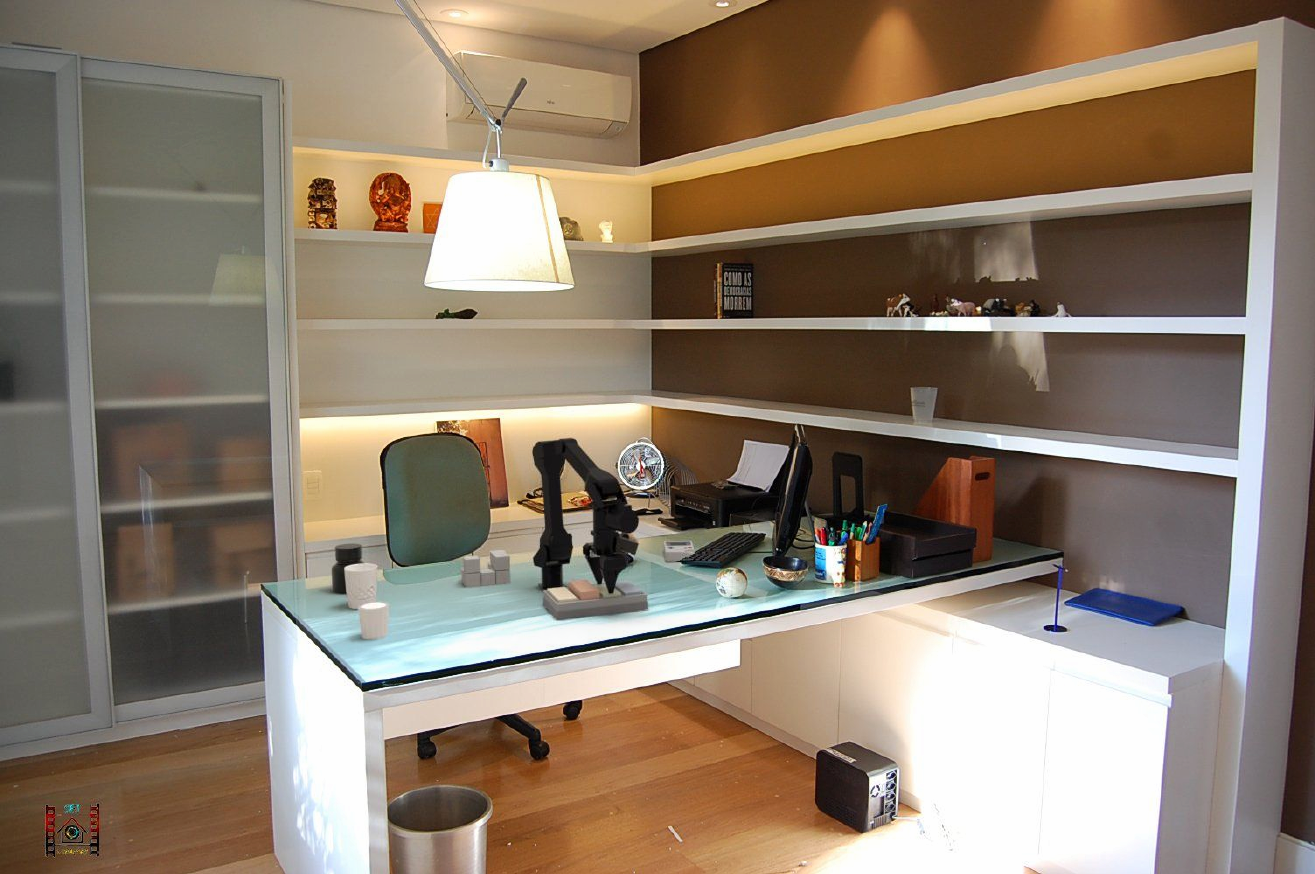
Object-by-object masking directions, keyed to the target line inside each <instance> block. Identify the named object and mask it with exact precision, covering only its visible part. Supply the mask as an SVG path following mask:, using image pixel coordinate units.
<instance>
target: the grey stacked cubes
mask: <svg viewBox="0 0 1315 874" xmlns="http://www.w3.org/2000/svg"><path fill="white" fill-rule="evenodd" d="M462 559H463V561H462V562H463V567H461V569H460V571H461V572H460V573H461V574H460V576H461V577H460V578H461V579H460V581H461V583H462V585H464V587H465V588H479V587H487V586H495V585H496V586H497V585H508V584H511V571H510V569H511V566H510V565H511V564H510V561H511V560H510V555H509V554H508V553H507V552H506V551H505V550H504V549H499V550H497V549H496V550H490V551H489V561H487V568H485V569H484V568H483V569H481V559H480V557H479V556H478V555H468V556H466V555H465V556H463V557H462Z"/></svg>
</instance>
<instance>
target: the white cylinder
mask: <svg viewBox="0 0 1315 874" xmlns="http://www.w3.org/2000/svg"><path fill="white" fill-rule="evenodd" d="M357 610H358V618H359V624H360V625H359V626H360V632H361V637H362V638H363V639H365V640H380V639H382V638H385V637H387V636H388V632H389V631H388V630H389V613H390V603H389V602H386V601H376V602H369V603H364V604H361V605H360V606H358V609H357Z"/></svg>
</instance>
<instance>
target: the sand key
mask: <svg viewBox="0 0 1315 874" xmlns="http://www.w3.org/2000/svg"><path fill="white" fill-rule="evenodd" d="M567 588H568V587H567ZM567 588H566V587H559V588H550V589H547V593H548V594H549V595H550V596H551V597H552V598H553V599H554V600H555V601H556V602H557V603H564V602H573V601H577V597H576V596H574V595H573V594H572V593H571V592H570V591H569V590H568V589H567Z"/></svg>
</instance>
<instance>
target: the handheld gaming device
mask: <svg viewBox="0 0 1315 874" xmlns="http://www.w3.org/2000/svg"><path fill="white" fill-rule="evenodd" d="M695 552H696V551H695V546H694V544H693V541H692V540H670V541H668V540H664V541H663V554H664V558H665V562H666V563H667V562H668V563H677V562H676V561H680V560H682V558H685V557H689V556H690V555H693V554H695ZM695 555H696V554H695Z"/></svg>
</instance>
